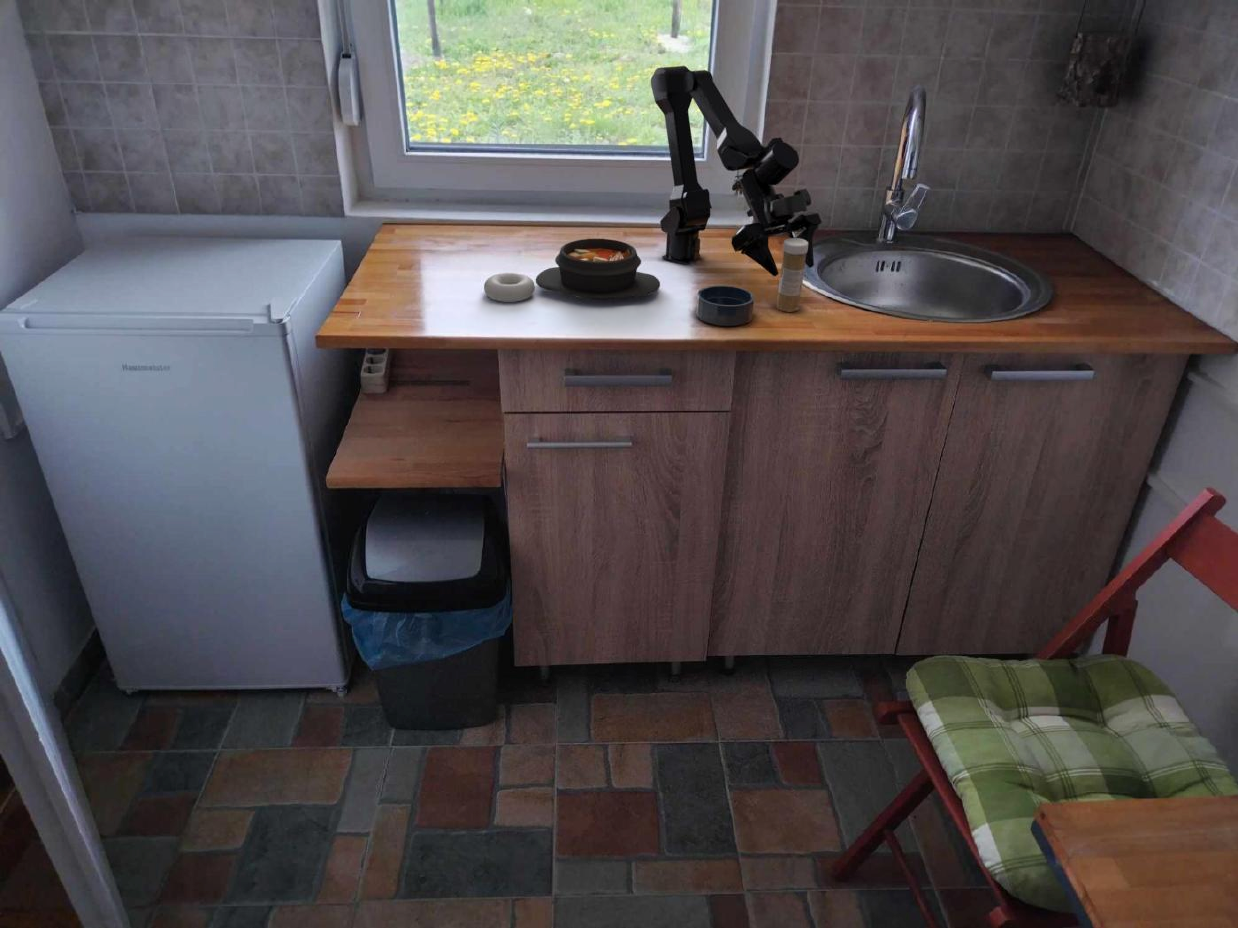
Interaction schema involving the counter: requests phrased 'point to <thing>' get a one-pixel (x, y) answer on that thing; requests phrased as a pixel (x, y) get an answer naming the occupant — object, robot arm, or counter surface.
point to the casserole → (598, 271)
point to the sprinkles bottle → (792, 274)
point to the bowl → (725, 305)
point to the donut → (509, 287)
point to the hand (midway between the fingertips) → (794, 271)
